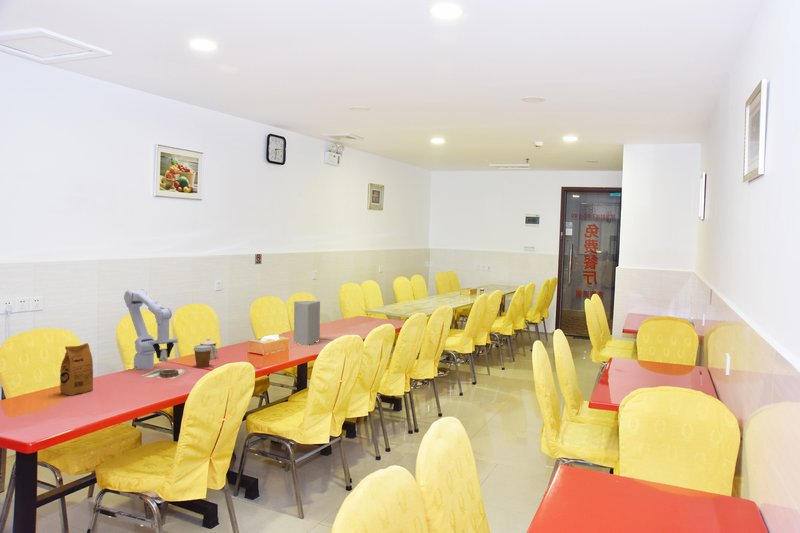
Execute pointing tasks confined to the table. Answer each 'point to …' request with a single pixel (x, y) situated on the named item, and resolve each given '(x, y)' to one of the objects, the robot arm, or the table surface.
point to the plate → (156, 372)
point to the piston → (163, 355)
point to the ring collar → (168, 373)
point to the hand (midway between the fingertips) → (163, 357)
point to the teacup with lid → (213, 346)
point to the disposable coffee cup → (202, 355)
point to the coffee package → (76, 370)
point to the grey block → (306, 322)
